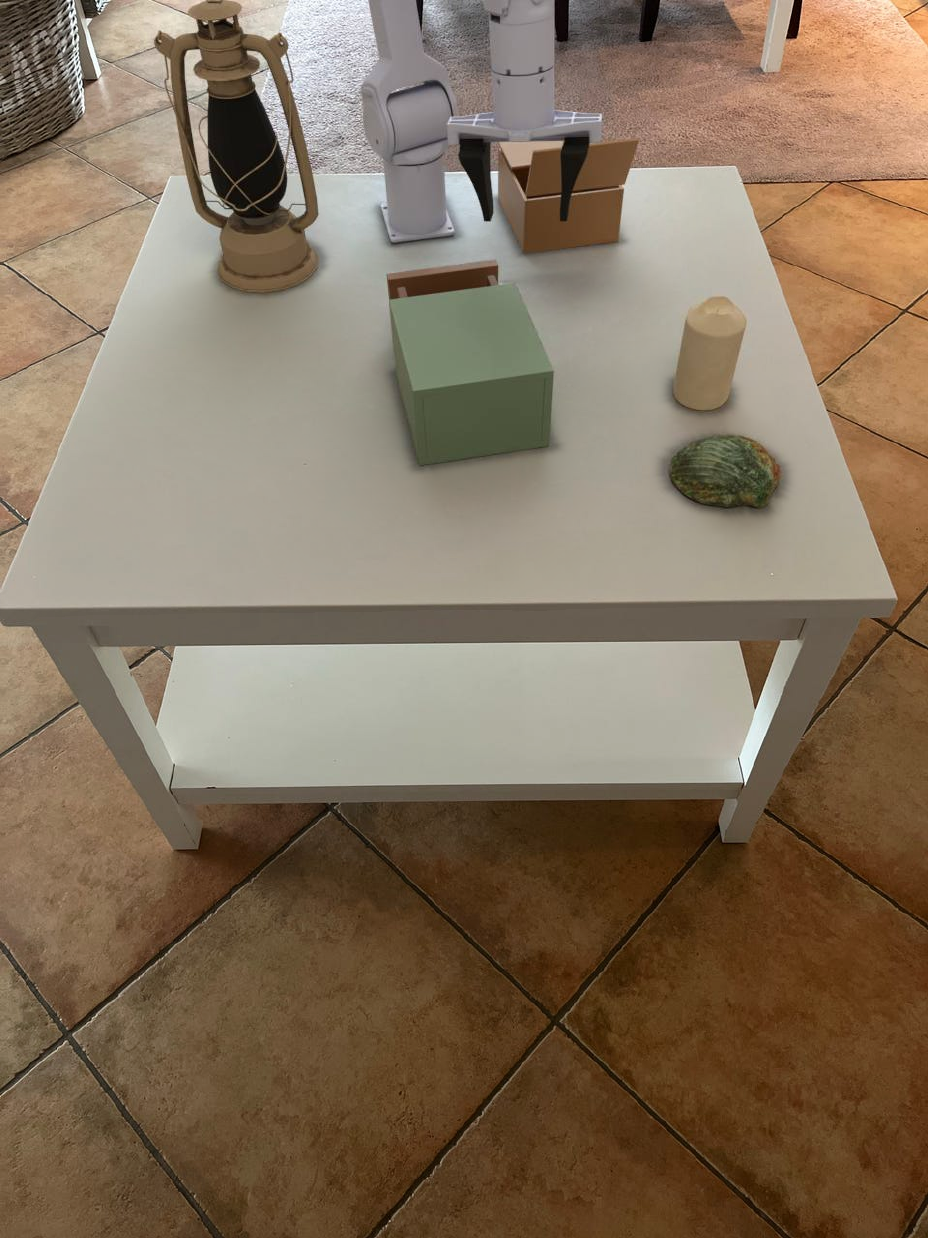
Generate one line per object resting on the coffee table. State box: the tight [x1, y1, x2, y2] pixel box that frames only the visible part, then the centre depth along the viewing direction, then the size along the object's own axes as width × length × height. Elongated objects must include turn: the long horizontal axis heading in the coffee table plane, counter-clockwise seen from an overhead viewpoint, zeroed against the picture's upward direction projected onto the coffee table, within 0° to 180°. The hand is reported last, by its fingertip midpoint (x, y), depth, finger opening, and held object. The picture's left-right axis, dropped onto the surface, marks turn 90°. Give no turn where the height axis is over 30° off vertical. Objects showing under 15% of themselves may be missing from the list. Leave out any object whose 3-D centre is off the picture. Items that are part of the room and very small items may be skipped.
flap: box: [525, 137, 640, 197], centre depth 101 cm, size 7×12×1 cm
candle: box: [672, 295, 748, 411], centre depth 87 cm, size 6×6×10 cm
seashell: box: [668, 433, 782, 509], centre depth 82 cm, size 10×4×10 cm
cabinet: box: [388, 282, 555, 467], centre depth 88 cm, size 15×13×9 cm
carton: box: [497, 141, 625, 255], centre depth 111 cm, size 14×12×7 cm
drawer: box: [385, 259, 499, 301], centre depth 93 cm, size 18×11×7 cm, turn 11°
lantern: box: [153, 0, 320, 294], centre depth 97 cm, size 15×12×30 cm
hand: (526, 217), depth 92 cm, fingers open, 7 cm apart
